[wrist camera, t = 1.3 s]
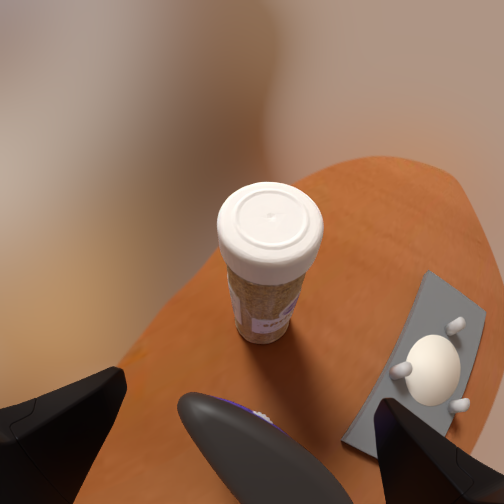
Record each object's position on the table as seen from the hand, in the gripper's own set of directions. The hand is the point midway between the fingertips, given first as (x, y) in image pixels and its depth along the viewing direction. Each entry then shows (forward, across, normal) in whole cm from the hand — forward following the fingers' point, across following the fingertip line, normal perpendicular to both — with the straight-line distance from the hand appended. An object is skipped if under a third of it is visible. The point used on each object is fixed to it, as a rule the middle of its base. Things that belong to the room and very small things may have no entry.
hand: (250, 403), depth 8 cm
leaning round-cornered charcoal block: (+5, -2, +14) cm, 15 cm away
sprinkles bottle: (+14, 0, +4) cm, 15 cm away
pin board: (+11, -16, +7) cm, 21 cm away
